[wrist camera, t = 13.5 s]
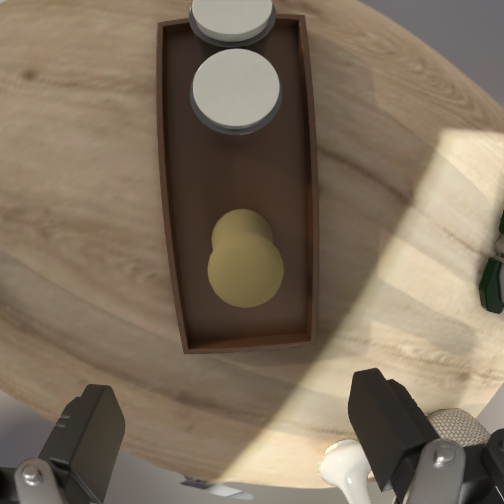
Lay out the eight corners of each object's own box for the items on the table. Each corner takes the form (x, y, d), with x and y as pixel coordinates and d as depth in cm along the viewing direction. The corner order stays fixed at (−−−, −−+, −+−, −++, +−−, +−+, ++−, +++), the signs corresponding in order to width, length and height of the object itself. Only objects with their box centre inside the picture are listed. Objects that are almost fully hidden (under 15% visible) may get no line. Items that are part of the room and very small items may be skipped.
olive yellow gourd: (203, 217, 29) (187, 245, 18) (265, 202, 29) (282, 221, 18) (220, 275, 31) (214, 329, 20) (278, 260, 31) (301, 308, 20)
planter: (434, 390, 39) (473, 440, 26) (472, 397, 41) (506, 438, 28) (385, 446, 42) (410, 499, 29) (428, 447, 44) (454, 490, 31)
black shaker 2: (205, 149, 27) (188, 136, 17) (202, 89, 26) (185, 47, 15) (268, 145, 28) (289, 131, 17) (265, 86, 26) (282, 42, 15)
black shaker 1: (202, 86, 26) (185, 43, 15) (201, 35, 24) (186, -23, 13) (265, 83, 26) (282, 38, 15) (261, 31, 24) (275, -28, 14)
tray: (186, 342, 33) (183, 354, 31) (162, 32, 24) (157, 22, 22) (310, 333, 34) (316, 345, 31) (299, 25, 25) (304, 15, 22)
